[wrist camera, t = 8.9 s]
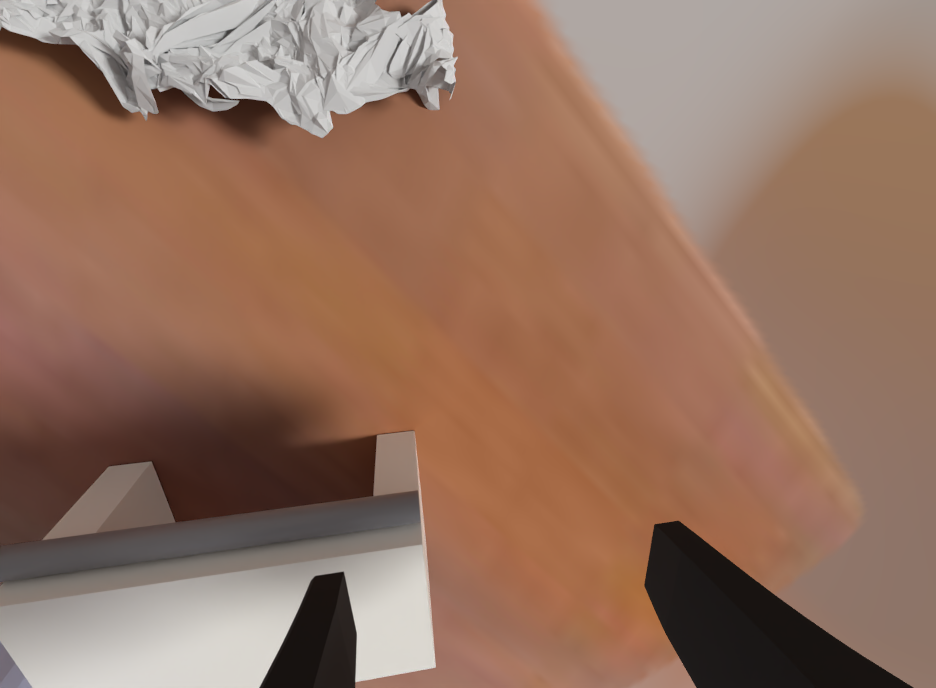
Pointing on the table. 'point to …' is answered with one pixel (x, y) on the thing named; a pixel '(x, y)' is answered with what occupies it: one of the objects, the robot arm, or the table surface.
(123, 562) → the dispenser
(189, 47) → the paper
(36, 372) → the table surface
